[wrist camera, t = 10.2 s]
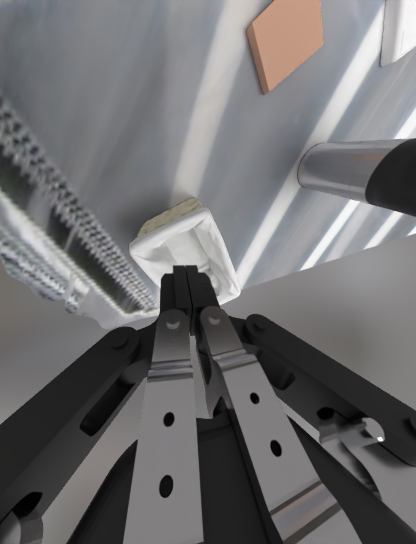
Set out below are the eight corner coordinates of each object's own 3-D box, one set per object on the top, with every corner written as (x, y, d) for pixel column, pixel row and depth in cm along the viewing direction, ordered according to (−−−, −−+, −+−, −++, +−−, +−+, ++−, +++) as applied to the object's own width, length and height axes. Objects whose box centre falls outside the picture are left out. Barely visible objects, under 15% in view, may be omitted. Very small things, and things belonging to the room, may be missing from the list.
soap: (384, -6, 26) (405, -22, 24) (420, -36, 25) (446, -55, 23) (377, 69, 31) (394, 63, 29) (407, 47, 30) (427, 39, 28)
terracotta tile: (269, 91, 28) (323, 44, 26) (252, 22, 23) (316, -43, 21) (262, 95, 30) (312, 51, 28) (245, 32, 25) (304, -27, 23)
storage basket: (226, 263, 52) (244, 296, 40) (182, 284, 53) (187, 321, 41) (196, 189, 37) (211, 206, 25) (135, 220, 38) (122, 250, 27)
